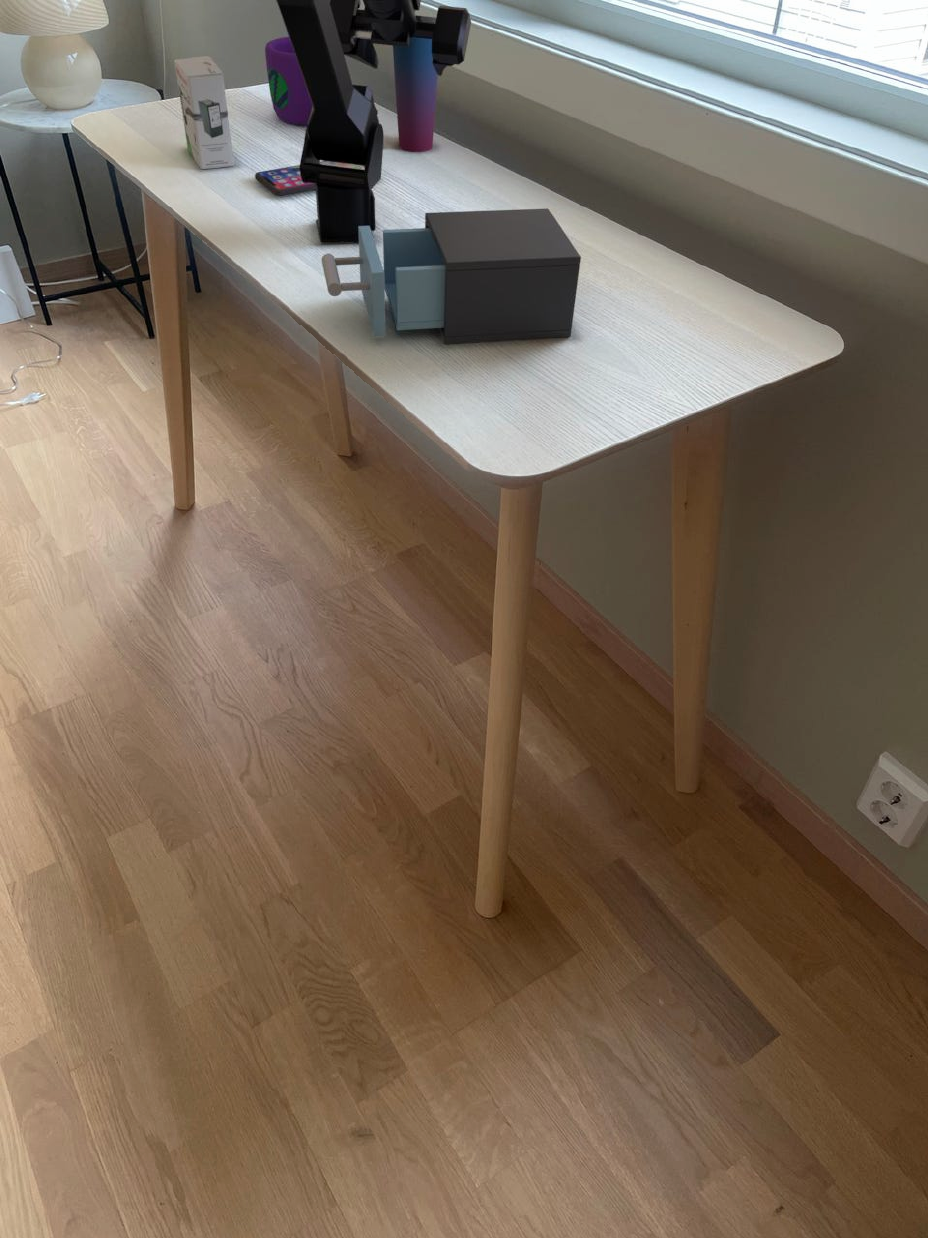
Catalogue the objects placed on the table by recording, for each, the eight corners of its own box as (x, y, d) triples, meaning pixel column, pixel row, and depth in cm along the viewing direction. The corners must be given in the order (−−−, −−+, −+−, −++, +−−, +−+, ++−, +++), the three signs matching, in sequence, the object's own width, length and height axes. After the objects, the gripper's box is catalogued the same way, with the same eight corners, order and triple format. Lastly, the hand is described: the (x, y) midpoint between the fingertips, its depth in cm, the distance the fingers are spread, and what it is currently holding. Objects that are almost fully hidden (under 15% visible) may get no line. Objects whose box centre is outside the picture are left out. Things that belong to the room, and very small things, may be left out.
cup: (404, 155, 135) (404, 37, 125) (385, 141, 139) (383, 25, 129) (446, 150, 137) (449, 34, 127) (426, 136, 142) (427, 22, 131)
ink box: (186, 149, 133) (171, 56, 125) (220, 146, 135) (208, 54, 126) (200, 170, 128) (186, 74, 119) (236, 166, 129) (224, 71, 121)
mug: (257, 113, 146) (249, 41, 139) (315, 101, 152) (311, 31, 145) (322, 144, 137) (318, 68, 130) (382, 130, 143) (381, 56, 136)
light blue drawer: (332, 340, 93) (328, 274, 88) (322, 289, 101) (318, 227, 96) (493, 330, 96) (497, 266, 91) (471, 282, 104) (474, 221, 99)
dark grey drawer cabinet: (444, 344, 95) (446, 262, 89) (424, 290, 104) (425, 212, 98) (570, 336, 98) (581, 256, 92) (540, 284, 106) (548, 207, 100)
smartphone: (377, 173, 127) (276, 191, 121) (377, 180, 128) (277, 198, 121) (351, 155, 131) (252, 172, 125) (351, 162, 132) (253, 179, 126)
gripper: (471, -69, 111) (485, 17, 126) (323, -82, 113) (354, 4, 129) (454, 22, 111) (470, 97, 126) (306, 7, 113) (339, 83, 129)
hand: (408, 68), depth 128 cm, fingers open, 9 cm apart
